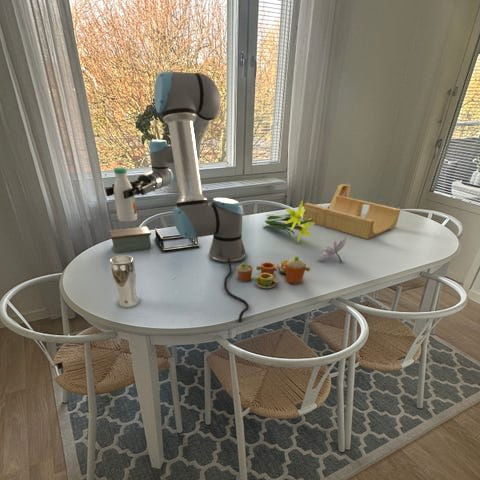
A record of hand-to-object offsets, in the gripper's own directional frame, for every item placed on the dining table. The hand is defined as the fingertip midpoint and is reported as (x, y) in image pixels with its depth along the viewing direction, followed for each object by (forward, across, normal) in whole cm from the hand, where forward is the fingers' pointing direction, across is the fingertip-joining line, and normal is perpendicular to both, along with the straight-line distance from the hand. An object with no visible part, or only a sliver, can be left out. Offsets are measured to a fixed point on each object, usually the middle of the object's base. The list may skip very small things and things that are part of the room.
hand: (115, 193), depth 133 cm
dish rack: (-17, -15, -24) cm, 33 cm away
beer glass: (+35, -28, -24) cm, 50 cm away
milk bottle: (-5, 0, -12) cm, 13 cm away
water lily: (-29, -83, -24) cm, 91 cm away
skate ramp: (-85, -85, -24) cm, 122 cm away
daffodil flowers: (-48, -57, -24) cm, 78 cm away
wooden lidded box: (-5, 0, -24) cm, 24 cm away
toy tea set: (0, -65, -24) cm, 69 cm away
